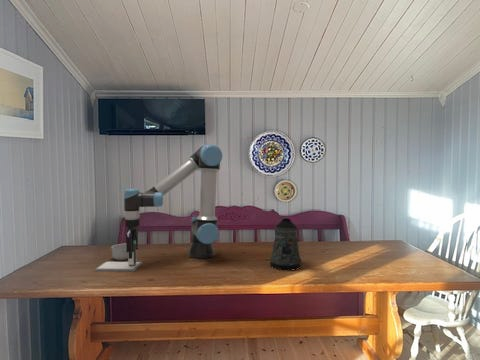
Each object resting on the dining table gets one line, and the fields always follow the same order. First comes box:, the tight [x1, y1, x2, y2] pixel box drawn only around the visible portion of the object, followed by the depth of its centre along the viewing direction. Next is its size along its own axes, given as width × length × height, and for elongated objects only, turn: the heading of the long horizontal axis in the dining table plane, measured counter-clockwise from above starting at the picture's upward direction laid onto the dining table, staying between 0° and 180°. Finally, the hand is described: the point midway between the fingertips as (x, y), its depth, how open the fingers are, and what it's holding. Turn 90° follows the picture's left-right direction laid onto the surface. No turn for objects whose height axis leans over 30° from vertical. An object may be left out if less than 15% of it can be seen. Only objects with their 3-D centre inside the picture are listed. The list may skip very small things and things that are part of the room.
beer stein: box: [269, 218, 302, 271], centre depth 186 cm, size 16×19×25 cm
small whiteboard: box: [94, 261, 143, 272], centre depth 183 cm, size 20×14×1 cm
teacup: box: [110, 242, 128, 261], centre depth 200 cm, size 14×11×8 cm
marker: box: [129, 240, 137, 266], centre depth 183 cm, size 4×4×13 cm
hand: (132, 263), depth 183 cm, fingers closed on marker, 4 cm apart
